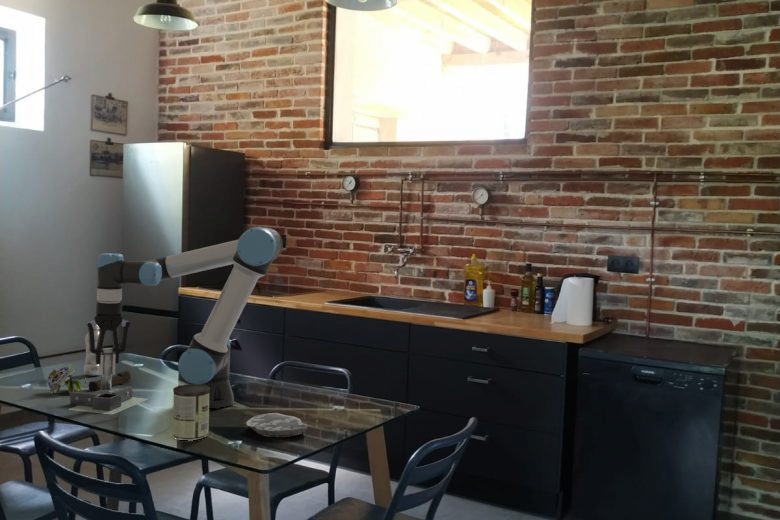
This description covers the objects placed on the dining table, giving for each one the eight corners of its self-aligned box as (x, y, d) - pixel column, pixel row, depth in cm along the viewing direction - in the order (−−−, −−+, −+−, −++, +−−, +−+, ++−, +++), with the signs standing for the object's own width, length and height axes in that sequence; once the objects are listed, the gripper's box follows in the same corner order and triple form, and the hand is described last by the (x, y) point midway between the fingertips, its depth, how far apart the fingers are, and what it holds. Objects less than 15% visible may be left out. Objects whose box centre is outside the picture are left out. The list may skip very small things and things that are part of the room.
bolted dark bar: (132, 397, 245) (133, 386, 245) (115, 405, 235) (115, 392, 235) (129, 397, 245) (129, 386, 245) (111, 404, 235) (111, 392, 235)
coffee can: (177, 430, 213) (178, 383, 212) (212, 431, 214) (213, 384, 213) (167, 441, 203) (168, 391, 202) (204, 442, 203) (205, 393, 203)
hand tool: (96, 393, 253) (96, 380, 252) (87, 391, 254) (88, 378, 254) (136, 383, 270) (136, 371, 270) (127, 381, 271) (128, 369, 271)
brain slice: (233, 429, 217) (233, 419, 217) (279, 420, 229) (279, 411, 229) (270, 445, 204) (271, 435, 203) (317, 435, 215) (318, 425, 215)
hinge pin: (114, 388, 233) (116, 348, 232) (107, 390, 229) (109, 350, 229) (104, 387, 234) (105, 347, 233) (97, 389, 230) (98, 349, 230)
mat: (148, 400, 245) (149, 398, 245) (112, 416, 225) (112, 414, 225) (107, 395, 249) (107, 394, 249) (67, 411, 228) (67, 409, 228)
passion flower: (53, 410, 248) (37, 380, 250) (81, 398, 256) (66, 369, 258) (65, 397, 241) (49, 366, 243) (94, 386, 250) (78, 356, 252)
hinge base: (121, 406, 234) (121, 394, 234) (109, 411, 228) (110, 398, 228) (77, 401, 238) (77, 389, 238) (65, 406, 232) (65, 394, 232)
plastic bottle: (84, 374, 280) (85, 323, 279) (103, 373, 282) (104, 323, 281) (82, 377, 274) (83, 325, 273) (101, 377, 276) (102, 325, 275)
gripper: (132, 299, 238) (129, 369, 239) (80, 300, 229) (77, 373, 230) (137, 302, 231) (135, 374, 233) (84, 303, 223) (82, 378, 224)
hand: (106, 373), depth 231 cm, fingers closed on hinge pin, 3 cm apart
